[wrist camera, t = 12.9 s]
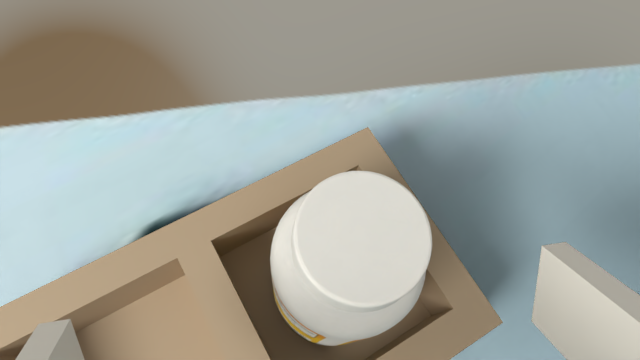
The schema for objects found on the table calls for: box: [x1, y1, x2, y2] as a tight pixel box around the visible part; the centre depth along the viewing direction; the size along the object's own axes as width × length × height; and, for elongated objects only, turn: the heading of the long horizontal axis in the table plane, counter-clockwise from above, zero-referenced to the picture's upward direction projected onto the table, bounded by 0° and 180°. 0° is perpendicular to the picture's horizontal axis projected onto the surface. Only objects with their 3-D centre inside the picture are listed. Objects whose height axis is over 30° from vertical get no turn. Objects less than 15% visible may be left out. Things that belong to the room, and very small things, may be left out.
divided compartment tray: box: [0, 127, 503, 360], centre depth 19 cm, size 20×10×4 cm, turn 120°
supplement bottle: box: [270, 171, 432, 346], centre depth 17 cm, size 5×5×10 cm
